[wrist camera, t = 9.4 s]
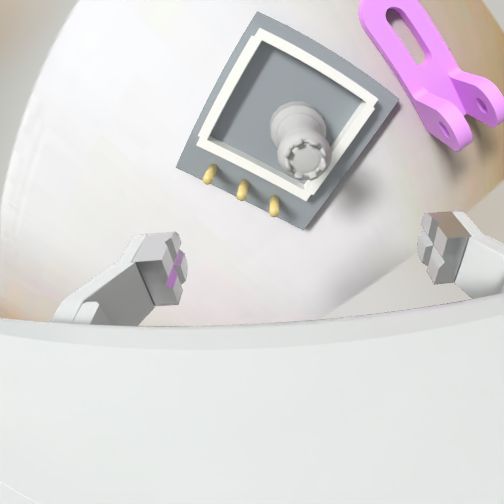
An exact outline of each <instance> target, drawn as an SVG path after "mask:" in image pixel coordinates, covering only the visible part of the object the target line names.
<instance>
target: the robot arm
mask: <svg viewBox="0 0 504 504" xmlns="http://www.w3.org/2000/svg"><path fill="white" fill-rule="evenodd" d="M421 226H422V228H423V231H422V233H421V234H420V235H419V237H418V243H417V248H418V255H419V258H420V260H421V261H422V263H423V264H425V265H427V266H428V269H427V273H428V274H429V276H430V278H431V280H432V282H433V283H434V284H443V283H453V282H455V284H456V285H457V286H458V287H460V288H461V289H462V290H463V291H464V292H465V293H467V294H468V295H469V296H470V297H471V298H472V299H470V300H465V301H459V302H453V303H447V304H441V305H435V306H429V307H422V308H415V309H408V310H401V311H393V312H385V313H377V314H369V315H360V316H350V317H340V318H331V319H319V320H306V321H293V322H278V323H261V324H240V325H212V326H138V325H139V324H140V323H141V322H142V320H143V319H144V318H145V317H146V316H147V315H148V314H149V313H150V312H151V311H152V310H153V309H154V308H155V306H165V305H179V302H180V298H181V295H182V291H183V289H182V287H181V284H183V283H184V282H185V281H186V277H187V260H186V257H185V254H184V253H183V252H182V251H181V250H180V249H179V248H180V245H181V240H180V237H179V234H178V233H177V232H164V233H152V234H141V235H135V236H133V237H132V239H131V241H130V243H129V244H128V246H127V248H126V249H125V251H124V253H123V254H122V256H121V258H120V260H119V261H118V263H117V264H113V265H111V266H110V267H108V268H107V269H105V270H104V271H103V272H101V273H100V274H98V275H97V276H96V277H94V278H93V279H91V280H90V281H89V282H87V283H86V284H84V285H83V286H82V287H80V288H79V289H78V290H76V291H75V292H73V293H72V294H71V295H69V296H68V297H67V298H65V299H64V300H63V301H62V302H61V304H60V306H59V307H58V309H57V311H56V313H55V314H54V316H53V318H52V320H51V321H50V322H39V321H27V320H16V319H6V318H0V504H504V244H502V243H501V242H499V241H497V240H495V239H493V238H491V237H489V236H484V235H483V234H482V232H481V231H479V229H478V228H477V227H476V225H475V224H474V223H473V222H472V221H471V220H470V219H469V218H468V216H467V215H466V214H465V213H464V212H462V211H451V212H437V213H425V214H424V215H423V217H422V221H421Z"/></svg>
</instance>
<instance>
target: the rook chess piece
mask: <svg viewBox="0 0 504 504" xmlns="http://www.w3.org/2000/svg"><path fill="white" fill-rule="evenodd" d="M269 128H270V136H271V139H272V141H273V143H274V145H275V146H276V147H277V148H278V150H277V157H278V163H279V165H280V167H281V169H282V170H283V171H284V172H285V173H286V174H287V175H289V176H290V177H292V178H295V179H298V180H301V181H302V180H310V181H311V180H314V179H317V178H318V177H319V176H321V175H322V174H323V173H324V172H325V171H326V170H327V169H328V167H329V165H330V163H331V160H332V150H331V147H330V145H329V143H328V141H327V140H326V139H325V138H326V124H325V121H324V119H323V116H322V114H321V113H320V112H319V111H318V110H317V109H316V108H315V107H314V106H313V105H310V104H308V103H305V102H303V101H297V102H289V103H286V104H284V105H282V106H280V107H279V108H278V109H277V110H276V111H275V112H274V113H273V115H272V118H271V120H270V123H269Z"/></svg>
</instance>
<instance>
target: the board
mask: <svg viewBox="0 0 504 504" xmlns="http://www.w3.org/2000/svg"><path fill="white" fill-rule="evenodd" d="M297 101H303V102H305V103H308V104H310V105H313V106H314V107H315V108H316V109H317V110H318V111H319V112H320V113H321V114H322V116H323V119H324V121H325V124H326V138H325V139H326V140H327V141H328V143H329V145H330V147H331V150H332V160H331V163H330V165H329V167H328V169H327V170H326V171H325V172H324V173H323V174H322V175H321V176H319V177H318V178H317V179H314V180H311V181H310V180H302V181H301V180H298V179H295V178H292V177H290V176H289V175H287V174H286V173H285V172H284V171H283V170H282V169H281V167H280V165H279V163H278V157H277V150H278V148H277V147H276V146H275V145H274V143H273V141H272V139H271V136H270V128H269V123H270V120H271V118H272V115H273V113H274V112H275V111H276V110H277V109H278V108H279V107H280V106H282V105H284V104H286V103H289V102H297ZM398 101H399V98H398V97H396V96H395V95H394V94H392V93H391V92H390V91H389V90H387V89H386V88H385V87H383V86H382V85H381V84H379V83H378V82H377V81H375V80H374V79H373V78H371V77H370V76H368V75H367V74H366V73H364V72H363V71H361V70H360V69H358V68H357V67H355V66H354V65H352V64H351V63H349V62H348V61H346V60H345V59H343V58H342V57H340V56H339V55H337V54H336V53H334V52H332V51H331V50H329V49H327V48H326V47H324V46H322V45H321V44H319V43H317V42H316V41H314V40H312V39H310V38H309V37H307V36H305V35H303V34H301V33H300V32H298V31H296V30H294V29H292V28H290V27H288V26H286V25H284V24H282V23H280V22H278V21H276V20H274V19H272V18H270V17H268V16H266V15H264V14H262V13H260V12H257V13H256V14H255V16H254V17H253V19H252V21H251V22H250V24H249V26H248V27H247V29H246V31H245V32H244V34H243V36H242V37H241V39H240V41H239V42H238V44H237V46H236V48H235V49H234V51H233V53H232V55H231V56H230V58H229V60H228V62H227V64H226V65H225V67H224V69H223V71H222V73H221V75H220V77H219V78H218V80H217V82H216V84H215V86H214V88H213V90H212V92H211V94H210V96H209V98H208V100H207V102H206V104H205V106H204V108H203V110H202V112H201V114H200V116H199V118H198V120H197V122H196V124H195V126H194V128H193V130H192V133H191V135H190V137H189V139H188V141H187V143H186V145H185V148H184V150H183V152H182V154H181V157H180V159H179V161H178V163H177V166H176V168H178V169H180V170H182V171H184V172H186V173H188V174H191V175H193V176H195V177H197V178H199V179H201V180H203V182H204V183H205V184H212V185H214V186H216V187H218V188H220V189H222V190H224V191H226V192H228V193H230V194H232V195H234V196H236V197H237V199H238V200H240V201H244V200H245V201H247V202H249V203H251V204H253V205H255V206H257V207H259V208H261V209H263V210H265V211H267V212H269V213H270V215H271V216H272V217H278V218H280V219H282V220H284V221H286V222H288V223H290V224H292V225H294V226H296V227H298V228H300V229H302V230H304V229H305V228H306V226H307V225H308V224H309V222H310V221H311V220H312V218H313V217H314V216H315V214H316V213H317V212H318V210H319V209H320V208H321V206H322V205H323V204H324V202H325V201H326V200H327V198H328V197H329V196H330V194H331V193H332V192H333V190H334V189H335V188H336V186H337V185H338V184H339V182H340V181H341V180H342V178H343V177H344V175H345V174H346V173H347V171H348V170H349V169H350V167H351V166H352V165H353V163H354V162H355V161H356V159H357V158H358V156H359V155H360V154H361V152H362V151H363V150H364V148H365V147H366V145H367V144H368V143H369V141H370V140H371V138H372V137H373V136H374V134H375V133H376V132H377V130H378V129H379V127H380V126H381V125H382V123H383V122H384V120H385V119H386V118H387V116H388V115H389V113H390V112H391V111H392V109H393V108H394V106H395V105H396V103H397V102H398Z"/></svg>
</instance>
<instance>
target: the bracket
mask: <svg viewBox="0 0 504 504" xmlns="http://www.w3.org/2000/svg"><path fill="white" fill-rule="evenodd" d="M389 8H391V9H394V10H396V11H397V12H398V13H399V14H400V16H401V17H402V19H403V20H404V21H405V23H406V24H407V26H408V27H409V29H410V30H411V32H412V33H413V35H414V36H415V38H416V39H417V41H418V43H419V44H420V46H421V47H422V49H423V51H424V53H425V60H424V62H423V63H422V64H420V65H418V64H416V63H415V62H414V60H413V58H412V57H411V55H410V54H409V52H408V50H407V49H406V47H405V46H404V44H403V43H402V41H401V40H400V38H399V37H398V35H397V34H396V33H395V31H394V30H393V28H392V27H391V25H390V24H389V23H388V21H387V19H386V11H387V9H389ZM358 14H359V20H360V23H361V26H362V28H363V29H364V31H365V32H366V34H367V35H368V36H369V38H370V39H371V40H372V42H373V43H374V45H375V46H376V47H377V49H378V50H379V52H380V53H381V54H382V56H383V57H384V59H385V60H386V62H387V63H388V65H389V66H390V68H391V69H392V71H393V72H394V74H395V75H396V77H397V79H398V80H399V82H400V83H401V85H402V87H403V88H404V90H405V92H406V93H407V95H408V97H409V98H410V100H411V102H412V104H413V105H414V107H415V109H416V111H417V113H418V114H419V116H420V118H421V120H422V122H423V124H424V126H425V128H426V130H427V131H428V132H429V133H431V134H432V135H434V136H435V137H436V138H438V139H439V140H441V141H442V142H443V143H445V144H446V145H447V146H449V147H450V148H452V149H453V150H454V151H456V152H458V151H460V150H461V149H463V148H464V147H466V146H467V145H469V144H470V143H472V141H473V137H472V133H471V130H470V127H469V125H468V123H467V121H466V119H465V118H464V115H466V114H468V115H470V116H472V117H474V118H476V119H478V120H479V121H481V122H483V123H485V124H487V125H489V126H491V127H496V126H497V125H499V124H500V123H501V122H503V121H504V97H503V96H502V94H501V92H500V91H499V90H498V88H497V87H496V86H495V85H494V84H493V83H492V82H491V81H490V80H488V79H486V78H484V77H480V76H477V75H473V74H470V73H466V72H463V71H461V70H460V69H459V67H458V66H457V64H456V62H455V60H454V58H453V56H452V54H451V52H450V51H449V49H448V47H447V45H446V43H445V42H444V40H443V38H442V37H441V35H440V33H439V32H438V30H437V28H436V27H435V25H434V24H433V22H432V20H431V19H430V17H429V16H428V14H427V13H426V11H425V10H424V8H423V7H422V5H421V4H420V3H419V1H418V0H361V2H360V5H359V10H358Z"/></svg>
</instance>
